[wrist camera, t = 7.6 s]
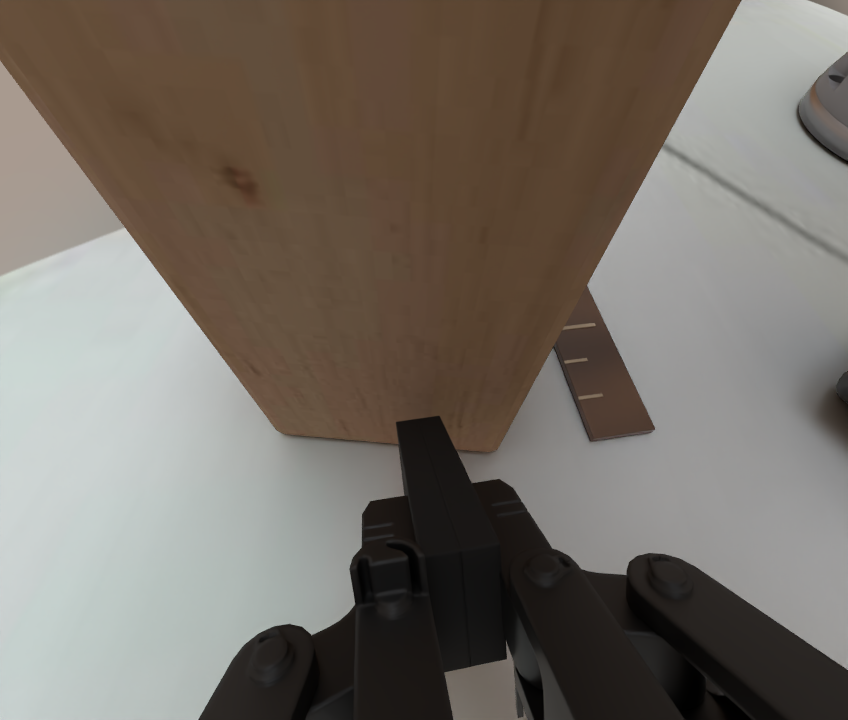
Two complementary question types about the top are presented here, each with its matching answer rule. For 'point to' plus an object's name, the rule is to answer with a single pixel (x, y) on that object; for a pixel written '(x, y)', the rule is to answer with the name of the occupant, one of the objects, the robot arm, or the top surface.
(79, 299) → the top surface
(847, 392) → the end cap
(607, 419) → the ruler
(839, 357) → the top surface
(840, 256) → the top surface
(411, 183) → the wooden block
